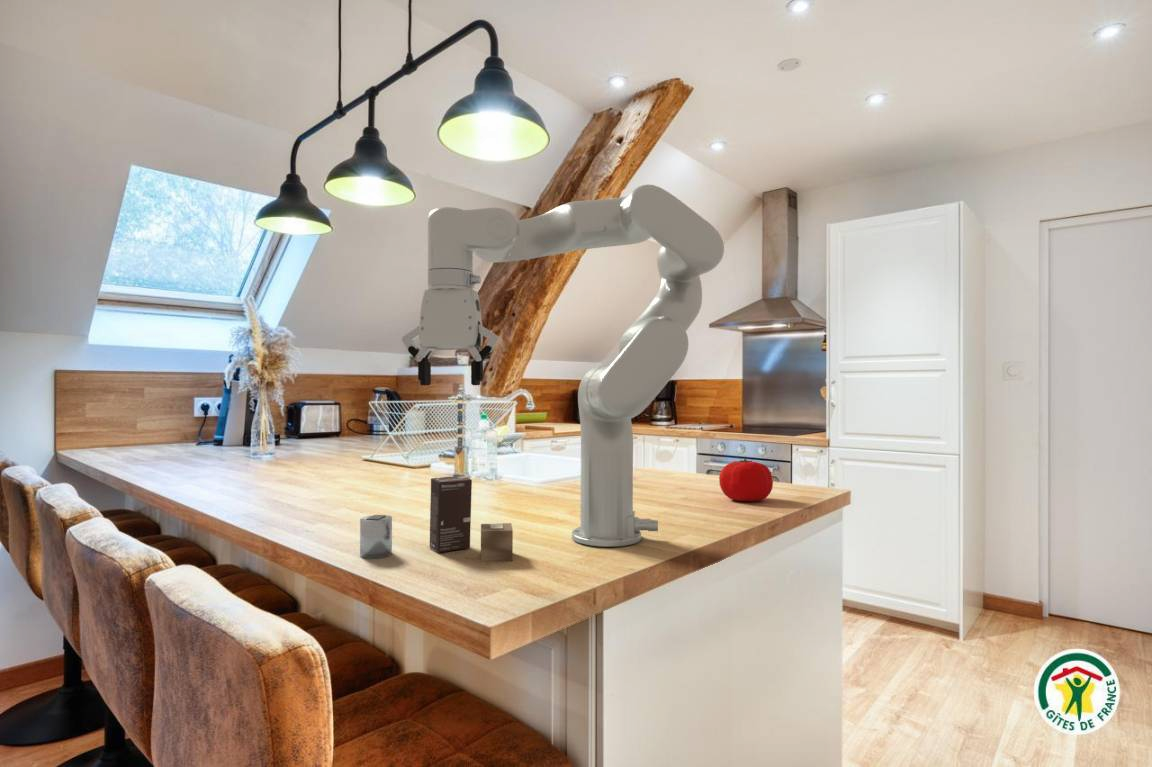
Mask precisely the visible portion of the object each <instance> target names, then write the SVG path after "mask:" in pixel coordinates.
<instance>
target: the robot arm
mask: <svg viewBox="0 0 1152 767" xmlns="http://www.w3.org/2000/svg"><path fill="white" fill-rule="evenodd" d="M651 238H652V239H653V240H655V241H656V243H658V244H659V245H661V247H660V248H659V251H658V253H657V258H656V264H657V265H656V266H657V270H658V274H659V280H660V281H659V282H660V286H659V289H658V292H657V293H656V295H655V296H654V298H653V299H652V301H651V302H650V303H649V305H647V307H646V308H645V309H644V310H643V311H642V313H641V314H640V315H639V316H638V317H637V318H636V320H635V321H634V322H633V323H632V324H631V325H630V326H629V327H628V328H627V329H626V330H625V332H623V335H622V336H621V339H620V341H619V344H618V353H619V354H618V356H617V357H616V358H615V359H614V360H613V362H612V363H609V364H608V363H607V364H601V365H600V364H599V365H597V366H594V367H593V368H591V369H589V371H587V372H586V373H585V374H584V375H583V377H582V378H581V380H580V383H579V387H578V390H577V391H578V392H577V404H578V410H579V411H578V412H579V424H580V527H579V526H578V527H576V528H574V529H573V530H572V531H571V539H572V540H573V541H575V542H576V543H579V544H581V545H587V546H593V547H603V548H611V547H625V546H626V547H627V546H630V545H635V544H637V543H639V542H640V541H641V539H642V532H641V531H648V532H659V530H658V529H659V521H658V520H657V519H655V520H652V519H651V518H639V517H638V516H635V515H636V514H635V513H636V511H635V510H634V509H633V508H634V507H633V506H634V505H633V504H634V499H633V498H634V491H633V490H634V485H633V484H634V433H633V425H632V419H633V418H635V417H637V416H638V415H640V414H641V413H643V412H644V411H645V410H646V408H648V407H649V406H650V405H651V403H653V401H654V400H655V399H656V397H657V396H658V395H659V394H660V393H661V391H662V390H663V389H664V387H665V386H666V385H667V384H668V382H670V380H671V379H672V378H673V376H674V375H675V374H676V373H677V371H678V370H679V369H680V368H681V366H682V365H683V363H684V361H685V360H686V357H687V355H688V352H689V336H688V334H687V331H688V330H689V328H690V327H691V325H692V324H693V323H694V322H695V320H696V318H697V317H698V315H699V313H700V311H701V307H702V303H703V289H702V288H703V287H702V281H701V275H703V274H707V273H709V272H710V271H713V270H714V269H715V268H716V267H717V266H718V265H719V264H720V263H721V262H722V259H723V257H724V254H725V245H724V241H723V238H722V235H721V234H720V233H719V231H718V230H717V229H716V228H715V227H714V225H712V224H711V223H710V222H709V221H707V220H706V219H705V218H703V217H702V216H701V215H699V213H697V212H695V211H694V210H693V209H692V208H690V207H689V206H688V205H687V204H685V203H684V202H683V201H682V200H680V199H679V198H677V197H676V196H675V195H673V194H672V193H670V192H669V191H667V190H665V189H664V188H663V187H660V186H657V185H654V184H642V185H640V186H637V187H635V189H633V190H632V191H631V192H630V193H629V194H628V195H626V196H621V197H620V196H619V197H610V198H598V199H588V200H574V201H570V202H569V201H568V202H567V203H563V204H561V205H559V206H556V207H555V208H553V209H551V210H549V211H547V212H544V213H543V214H539V215H537V216H533V217H529V218H523V219H517V218H516V216H515V215H514V214H513V213H512V212H511V211H509V210H507V209H505V208H500V207H485V208H475V209H474V208H473V209H462V208H457V207H448V206H446V207H437V208H435V209H433V210H431V211H430V212H429V214H428V216H427V289H424V290H423V295H422V298H421V299H422V300H421V305H420V312H419V324H418V326H417V327H415V328H414V329H413V330H411V331H409V332H408V333H406V334H405V335H404V336H402V337H401V341H402V343H403V344H404V346H405V347H406V349H407V351H408V353H409V354H410V355H411V356H412V357H413V358H414V359H415V361H416V362H417V378H418V381H419V382H420V386H430V385H431V384H432V377H431V376H432V369H431V368H432V364H431V362H430V361H429V359H430V357H431V356H432V354H433V353H434V351H436V350H440V351H442V350H445V351H451V350H454V351H455V350H457V351H459V350H463V351H464V350H468V352H469V353H470V355H471V357H472V358H473V361H471V363H470V384H471V385H472V386H481V381H483V379H484V362H485V361H486V359H487V358H488V357H489V356H490V355H491V354H492V353H493V351H494V349H495V348H496V346H497V344H498V343H499V342H500V336H498V335H497V334H495V333H494V332H492V331H490V330H489V329H488V328H486V327H484V326H483V321H482V312H481V303H480V302H481V301H480V296H479V293H478V292H479V291H477V290H474V288H475V287H474V286H475V285H477V284H479V285H480V284H481V283H482V279H481V276H480V275H476V274H475V273H473V272H474V271H473V267H474V265H473V258H474V256H473V254H475V255H476V256H477V258H479V259H481V260H483V261H484V262H486V263H487V262H488V263H507V262H515V261H522V260H523V261H524V260H531V259H538V258H542V257H547V256H555V255H560V254H566V253H570V252H575V251H584V250H591V249H599V248H608V247H609V248H610V247H617V246H618V247H620V246H629V245H636V244H640V243H644V242H645V241H647V240H649V239H651ZM484 337H485V338H486V339H487V343H486V345H485V346H484V347H483V348H482V349H480V348H481V347H482V345H483V343H484V342H483V338H484ZM417 338H418V339H419V340H418V342H419V345H420V346H421V348H418V347H417V346H416V343H415V340H416V339H417Z"/></svg>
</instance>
